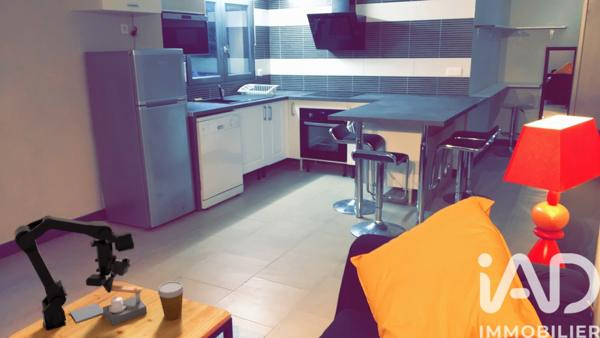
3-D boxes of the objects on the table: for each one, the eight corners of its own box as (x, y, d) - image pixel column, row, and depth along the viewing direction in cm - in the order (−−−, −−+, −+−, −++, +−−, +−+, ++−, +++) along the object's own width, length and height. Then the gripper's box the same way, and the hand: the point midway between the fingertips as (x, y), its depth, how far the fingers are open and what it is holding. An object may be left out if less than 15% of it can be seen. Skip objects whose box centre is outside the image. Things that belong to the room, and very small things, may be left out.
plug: (113, 322, 172) (111, 305, 170) (107, 315, 177) (105, 299, 175) (129, 316, 176) (127, 300, 174) (123, 310, 180) (121, 293, 179)
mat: (76, 323, 172) (76, 321, 172) (70, 312, 179) (69, 311, 179) (104, 313, 178) (104, 312, 178) (97, 303, 185) (96, 302, 185)
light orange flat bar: (105, 290, 181) (104, 287, 180) (109, 287, 183) (108, 284, 183) (138, 293, 178) (138, 290, 178) (142, 290, 180) (142, 287, 180)
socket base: (112, 325, 170) (110, 308, 168) (103, 314, 178) (101, 297, 176) (146, 313, 178) (145, 296, 176) (137, 302, 186) (135, 286, 184)
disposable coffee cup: (158, 312, 179) (155, 283, 176) (183, 306, 183) (181, 278, 180) (162, 324, 170) (159, 295, 167) (188, 318, 174) (186, 289, 171)
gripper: (111, 266, 166) (115, 306, 169) (137, 246, 184) (140, 282, 187) (82, 264, 168) (87, 303, 171) (111, 244, 186) (115, 281, 189)
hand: (109, 292), depth 180 cm, fingers closed
